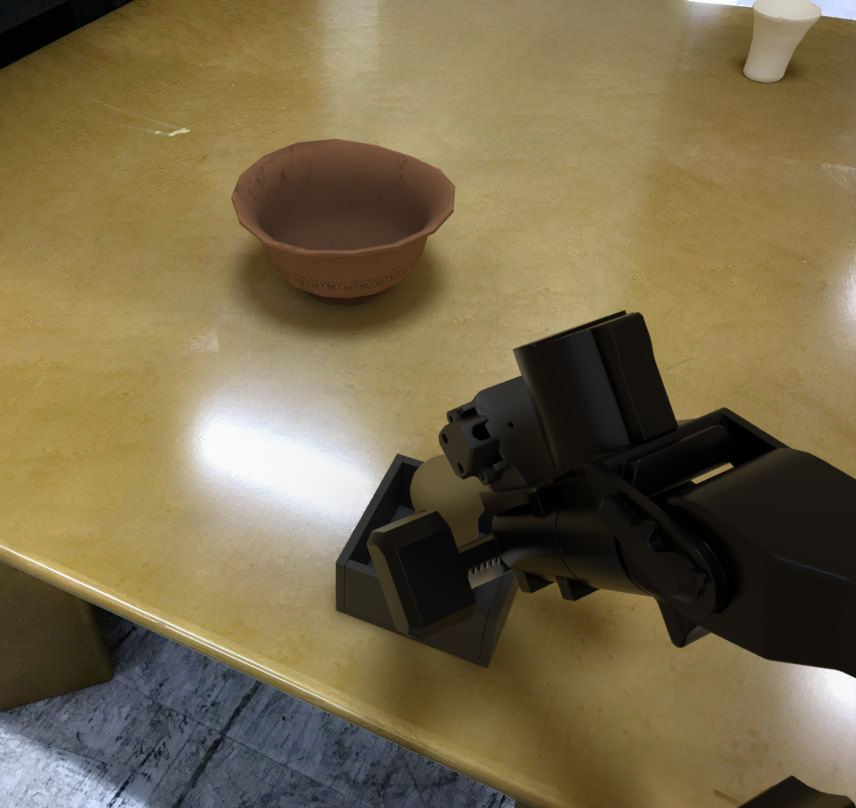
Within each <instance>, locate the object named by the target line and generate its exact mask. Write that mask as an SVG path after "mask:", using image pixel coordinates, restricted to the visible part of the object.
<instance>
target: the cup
mask: <svg viewBox="0 0 856 808" xmlns="http://www.w3.org/2000/svg"><path fill="white" fill-rule="evenodd" d="M822 13H823V9H822V7H820V6H819V5H818V4H816V3H814V2H812V1H810V0H755V1H754V2H753V3H752V16H753V29H752V38H751V44H750V48H749V51H748V55H747V58H746V61H745V64H744V66H743V70H742V72H743V75H744V76H745V77H746V78H747V79H749V80H751V81H754V82H759V83H767V84H769V83H776V82H779V81H780V80H781V79H782V78H784V76H785V73H786V71H787V68H788V66H789V63H790V61H791V59H792V57H793V55H794V52H795V50H796V48H798V45H799V44H800V43H801V42H802V41H803V39H804V37H805V36H806V33H807V32H808V31H809V30H810V29H811V28H812V26H814V24H815V23H817V22H818V20H819V19H820V18H821V16H822Z"/></svg>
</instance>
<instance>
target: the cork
mask: <svg viewBox="0 0 856 808" xmlns="http://www.w3.org/2000/svg"><path fill="white" fill-rule="evenodd" d="M423 462H424V463H423V464H421V465H420V467H419V468H418V469H417V470H416V471H415V473H414V476H413V479H412V482H411V485H410V493H411V501H412V504H413V506H414V508H415V510H416V511H415V514H416V513H418V512H421V511H423V510H426V511H428V510H437V511H438V512H439V513H440V515H441V516H442V517H443V518H444V520H445V521H446V522H447V523H448V525H449V526H450V528H451V531H452V534H453V537H454V540H455V542H456V545H457V548H458V547H460V546H462V545H465V544H467V543H469V542H472V541H474V540H476V539H478V538H479V530H478V518H479V517H480V515H481V514H482V513H483V511H484V510H485V509H484V506H483V503H482V501H481V498H480V495H479V493H480V492H482V491H485V490H487V489H488V485H486V486H484V485H483V484H482V483H481V482H480V480H479V479H478V478H477V477H474V476H472V477H469V478H467V479H464V480H463V479H461V478H459V477H458V476H457V475H456V474H455V472H454V471H453V469H452V467H451V465H450V463H449V461H448V459H447V457H446V455H445V454H439V455H435V456H433V457H430V458H429V459H427V460H425V461H423ZM475 567H477V568H478V565H477V566H475ZM469 570H471V571H472V568H470V569H469ZM466 574H467V571H466ZM478 589H479V586H477V587H475V588H473V589H472V591H473V594H474V595H475V594H476V592H477V591H478Z"/></svg>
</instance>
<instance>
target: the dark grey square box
mask: <svg viewBox="0 0 856 808" xmlns="http://www.w3.org/2000/svg"><path fill="white" fill-rule="evenodd" d="M424 462H425V461H423V460H420V459H417V458H415V457H410V456H407V455H404V454H402V453H396V455H395V456H394V458H393V460H392V462H391V463H390V465H389V467H388V469H387V471H386V473H385V474H384V476H383V478H382V479H381V481H380V483H379V485H378V486H377V488H376V490H375V492H374V494H373V495H372V497H371V499H370V501H369V503H368V504H367V506H366V507H365V509H364V511H363V513H362V515H361V516H360V518H359V520H358V522H357V523H356V526H355V527H354V529H353V531H352V533H351V534H350V535H349V538H348V539H347V542H346V543H345V544H344V547H343V549H342V550H341V552H340V554H339V555H338V557H337V559H336V561H335V610H336V611H338V612H341V613H343V614H345V615H349V616H351V617H354V618H356V619H358V620H361V621H364V622H366V623H369V624H372V625H374V626H376V627H380V628H381V629H385V630H387V631H389V632H393V633H395V634H398V635H400V636H402V637H405V638H408V639H410V640H413V641H415V642H418V643H420V644H422V645H424V646H428V647H430V648H433V649H436V650H438V651H441V652H444V653H446V654H448V655H451V656H454V657H456V658H459V659H461V660H464V661H467V662H469V663H472V664H475V665H477V666H480V667H482V668H485V669H489V667H490V663H491V661H492V658H493V656H494V653H495V650H496V648H497V645H498V642H499V640H500V637H501V634H502V631H503V629H504V627H505V624H506V621H507V618H508V615H509V613H510V610H511V607H512V605H513V602H514V599H515V597H516V594H517V593H518V589H519V587H520V585H519V582H518V579H517V577H516V574H515V571H514V570H512V571H510V572H508V573H506V574H504V575H501V576H499V577H497V578H495V579H493V580H490V581H488V582H486V583H484V584H482V585H479V589H478V591H477V592H476V594H475V595H474V597H475V599H476V602H477V603H476V609H475V615H474V617H472V618H470V619H468V620H465V621H463V622H461V623H459V624H457V625H455V626H452V627H450V628H448V629H446V630H444V631H442V632H440V633H437V634H435V635H433V636H431V637H429V638H427V639H425V640H420V639H417V638H414V637H411V636H409V635H406V634H404V633H402V632H400V631H398V630H397V629H396V626H395V623H394V621H393V618H392V615H391V612H390V609H389V606H388V603H387V601H386V598H385V595H384V592H383V589H382V586H381V584H380V581H379V578H378V575H377V572H376V569H375V567H374V564H373V561H372V558H371V555H370V552H369V549H368V547H367V542H368V540H369V537H370V535H371V533H372V531H374V530H376V529H379V528H381V527H383V526H386V525H388V524H391V523H393V522H396V521H398V520H400V519H403V518H405V517H408V516H410V515H413V514H415V511H416V510H415V508H414V506H413V504H412V501H411V493H410V485H411V482H412V479H413V476H414V473H415V471H416V470H417V469H418V468H419V467H420V465H421V464H423V463H424ZM489 488H491V487H490V484H489V485H488V489H489ZM494 516H495V515H488V514H486V512H485V510H484V511H483V513H482V514H481V515H480V517H479V518H478V530H479V538H481V537H483V536H485V535H488V534H490V533H492V522H493V517H494ZM498 557H500V556H498ZM493 559H494V560H495V561H496V557H495V558H493ZM501 559H502V558H501ZM486 562H489V563H490V560H488V561H486ZM482 565H483V566H484V563H482Z"/></svg>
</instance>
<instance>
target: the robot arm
mask: <svg viewBox="0 0 856 808" xmlns="http://www.w3.org/2000/svg"><path fill="white" fill-rule="evenodd" d="M650 334H651V333H650V331H649V329H648V326H647V322H646V320H645V317H644V315H643V314H642V313H640V311H636V312H635V311H632V312H628V313H627V310H626V309H624V310H620V311H617V312H614V313H611V314H608V315H605V316H602V317H599V318H596V319H593V320H590V321H587V322H585V323H581V324H578V325H576V326H573V327H570V328H567V329H563V330H561V331H558V332H555V333H552V334H549V335H547V336H544V337H541V338H539V339H536V340H533V341H530V342H527V343H524V344H522V345H519V346H516V347H514V348H512V352H513V355H514V358H515V361H516V365H517V367H518V370H519V372H520V375H518V376H516V377H513V378H510V379H508V380H505V381H503V382H499V383H496V384H494V385H490V386H488V387H486V388H483V389H481V390H479V391H478V392H477V394H476V395H474V397H473V398H472V400H471V401H468V402H466V403H463V404H461V405H460V406H457V407H454V408H452V409H450V410H448V411H446V414H445V415H446V420H447V423H448V424H447V423H446V424H445V425H444V426H442V429H441V430H440V431H439V433H438V436H437V437H438V443H439V447H440V448H441V450H442V452H443V455H446V457H447V459H448V461H449V463H450V465H451V467H452V469H453V471H454V472H455V474H456V475H457V476H458V477H459V478H461V479H463V480H464V479H467V478H469V477H472V476H474V477H477V478H478V479H479V480H480V482H481V483H482V484H483V485H484V486H486V485H489V484H490V487H491V488H489V489H487V490H485V491H482V492H480V493H479V495H480V498H481V501H482V503H483V506H484V509H485V512H486V514H488V515H495V516H494V517H493V522H492V533H490V534H488V535H485V536H483V537H481V538H478V539H476V540H474V541H472V542H469V543H467V544H465V545H462V546H460V547H458V548H457V545H456V542H455V540H454V537H453V534H452V531H451V528H450V526H449V525H448V523H447V522H446V521H445V520H444V518H443V517H442V516H441V515H440V513H439V512H438V511H437V510H428V511H426V510H423V511H421V512H418V513H416V514H413V515H410V516H408V517H405V518H403V519H400V520H398V521H396V522H393V523H391V524H388V525H386V526H383V527H381V528H379V529H376V530H374V531H372V533H371V535H370V537H369V540H368V542H367V547H368V549H369V552H370V555H371V558H372V561H373V564H374V567H375V569H376V572H377V575H378V578H379V581H380V584H381V586H382V589H383V592H384V595H385V598H386V601H387V603H388V606H389V609H390V612H391V615H392V618H393V621H394V623H395V626H396V629H397V630H398V631H400V632H402V633H404V634H406V635H409V636H411V637H414V638H417V639H420V640H425V639H427V638H429V637H431V636H433V635H435V634H437V633H440V632H442V631H444V630H446V629H448V628H450V627H452V626H455V625H457V624H459V623H461V622H463V621H465V620H468V619H470V618H472V617H474V615H475V609H476V603H477V602H476V599H475V597H474V594H473V591H472V589H473V588H475V587H477V586H479V585H482V584H484V583H486V582H488V581H490V580H493V579H495V578H497V577H499V576H501V575H504V574H506V573H508V572H510V571H512V570H514V571H515V574H516V577H517V579H518V582H519V589H520V591H521V592H522V593H526V594H533V593H536V592H538V591H540V590H542V589H544V588H546V587H548V586H550V585H553V584H555V583H556V584H557V587H558V589H559V592H560V596H561V597H562V600H564V601H568V602H577V601H579V600H581V599H583V598H585V597H587V596H589V595H591V594H593V593H596V592H598V591H599V590H604V591H610V592H611V591H612V592H618V593H624V594H629V595H637V596H643V597H644V596H645V597H648V598H649V597H650V598H653V599H654V600H655V602H656V604H657V605H658V607H659V610H660V614H661V616H662V620H663V622H664V625H665V628H666V631H667V633H668V636H669V639H670V642H671V643H672V645H673V646H674V647H676V648H678V649H683V648H686V647H687V646H689V645H691V644H693V643H694V642H697V641H698V640H700V639H702V638H705V637H706V636H708V635H710V634H713V635H715V636H716V637H718V638H720V639H723V640H725V641H727V642H729V643H731V644H733V645H735V646H737V647H739V648H741V649H743V650H745V651H747V652H749V653H751V654H753V655H756V656H757V657H760V658H761V659H764V660H766V661H771V662H775V663H783V664H790V665H797V666H803V667H804V666H805V667H809V668H810V667H812V668H817V669H825V670H831V671H837V672H841V673H843V674H845V675H847V676H849V677H852V678H854V679H856V478H855V477H853V476H851V475H849V474H848V473H846V472H845V471H843V470H841V469H839V468H838V467H836V466H834V465H833V464H831V463H829V462H828V461H826V460H824V459H822V458H821V457H819V456H817V455H815V454H813V453H811V452H808V451H804V450H799V449H796V448H792V447H791V446H789V445H787V444H786V443H784V442H782V441H781V440H780V439H778V438H776V437H774V436H773V435H771V434H770V433H768V432H766V431H765V430H763V429H761V428H760V427H759V426H757V425H755V424H754V423H752V422H750V421H749V420H747V419H746V418H744V417H742V416H741V415H740V414H737V413H736V412H735V411H733V410H731V409H729V408H728V407H724V406H722V407H720V408H718V409H715V410H713V411H711V412H709V413H706V414H704V415H701V416H698V417H696V418H687V419H679V420H677V418H676V415H675V413H674V410H673V406H672V403H671V401H670V398H669V396H668V393H667V389H666V386H665V384H664V382H663V378H662V375H661V372H660V369H659V367H658V364H657V361H656V358H655V353H654V347H653V341H652V338H651V335H650ZM728 464H730V465H731V466H732V467H730V468H728V469H726V470H724V471H722V472H721V471H720V472H719V473H717V474H715V475H712V476H711V477H708V478H706V479H704V480H701V481H698V482H697V483H696V482H694V481H693V480H695V479H697V478H699V477H701V476H702V477H703V476H704V475H706V474H708V473H710V472H713V471H716V470H717V469H720V468H722V467H724V466H726V465H728ZM498 556H500V557H498ZM495 557H496V561H495V560H494V559H493V558H495ZM501 558H502V559H501ZM488 560H490V563H489V562H486V561H488ZM482 563H484V566H483V565H482ZM477 565H478V568H477V567H475V566H477ZM470 568H472V571H471V570H469V569H470ZM466 571H467V574H466ZM735 808H856V803H855V802H854V801H853V800H852V799H851V798H850V797H849V796H848V795H843V794H842V795H841V794H836V793H828V792H825V791H821V790H819V789H817V788H815V787H812V786H809V785H807V784H806V783H805V782H803V781H802V780H800V779H798V778H797V777H796V776H794V775H792V774H790V775H789V776H787V777H786V778H784V779H782V780H780V781H779V782H777V783H776V784H773V785H771V786H768V787H767V788H765V789H764V790H762V791H760V792H759V793H758V794H756V795H754V796H753V797H750V798H749V799H748V800H746V801H745V802H743V803H740V804H739V805H737V806H736V807H735Z"/></svg>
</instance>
